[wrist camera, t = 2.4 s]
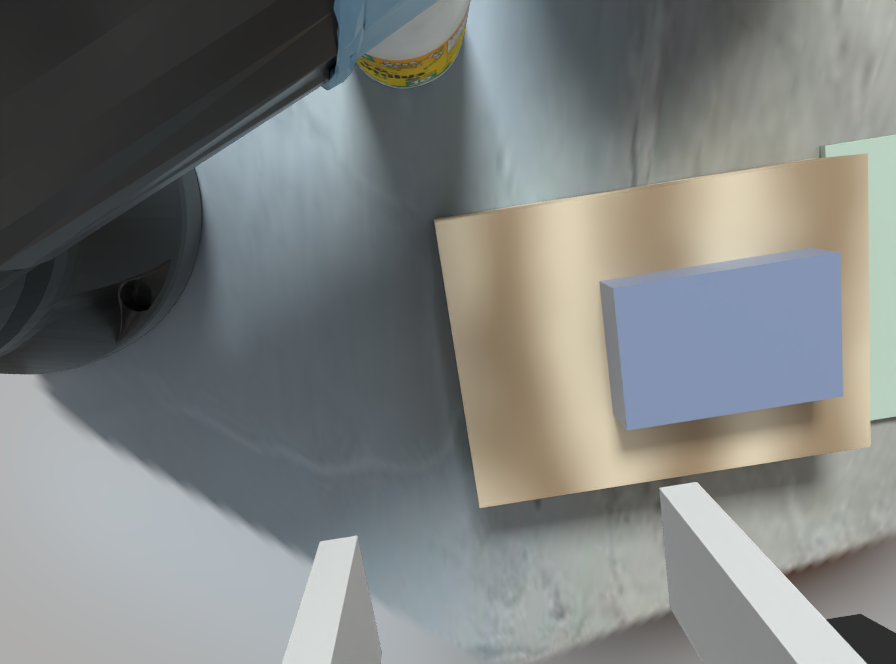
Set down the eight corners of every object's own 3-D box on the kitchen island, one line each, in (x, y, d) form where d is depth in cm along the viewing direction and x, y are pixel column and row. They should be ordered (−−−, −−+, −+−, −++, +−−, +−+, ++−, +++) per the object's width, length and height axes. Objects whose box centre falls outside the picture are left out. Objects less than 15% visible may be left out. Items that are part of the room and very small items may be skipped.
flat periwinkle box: (613, 414, 28) (627, 430, 26) (599, 281, 26) (612, 288, 25) (814, 382, 28) (843, 396, 26) (810, 247, 26) (840, 251, 24)
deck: (473, 470, 32) (479, 508, 29) (433, 219, 30) (434, 222, 26) (817, 416, 32) (870, 446, 28) (809, 158, 30) (867, 153, 26)
